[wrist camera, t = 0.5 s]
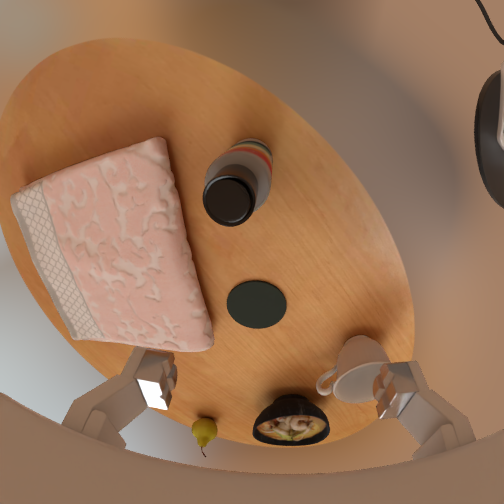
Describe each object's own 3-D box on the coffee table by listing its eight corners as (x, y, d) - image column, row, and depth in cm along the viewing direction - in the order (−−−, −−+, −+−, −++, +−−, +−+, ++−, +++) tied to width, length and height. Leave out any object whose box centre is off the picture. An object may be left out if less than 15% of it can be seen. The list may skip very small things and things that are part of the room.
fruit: (191, 419, 69) (182, 454, 58) (199, 410, 66) (190, 448, 55) (214, 427, 70) (207, 462, 59) (223, 418, 67) (216, 456, 56)
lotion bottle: (276, 174, 38) (276, 233, 20) (235, 182, 39) (199, 246, 21) (267, 134, 35) (259, 153, 18) (225, 142, 36) (177, 172, 19)
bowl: (309, 423, 66) (310, 454, 57) (247, 413, 65) (243, 446, 56) (339, 389, 58) (344, 425, 49) (267, 377, 57) (265, 416, 48)
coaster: (222, 282, 46) (222, 283, 46) (284, 278, 45) (284, 279, 45) (232, 328, 51) (231, 329, 51) (287, 325, 50) (287, 327, 49)
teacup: (307, 335, 50) (310, 377, 42) (385, 315, 47) (401, 354, 38) (318, 373, 55) (321, 412, 46) (386, 356, 52) (398, 393, 43)
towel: (22, 183, 41) (2, 192, 36) (172, 133, 36) (156, 136, 31) (81, 330, 56) (70, 346, 51) (219, 334, 52) (214, 356, 47)
